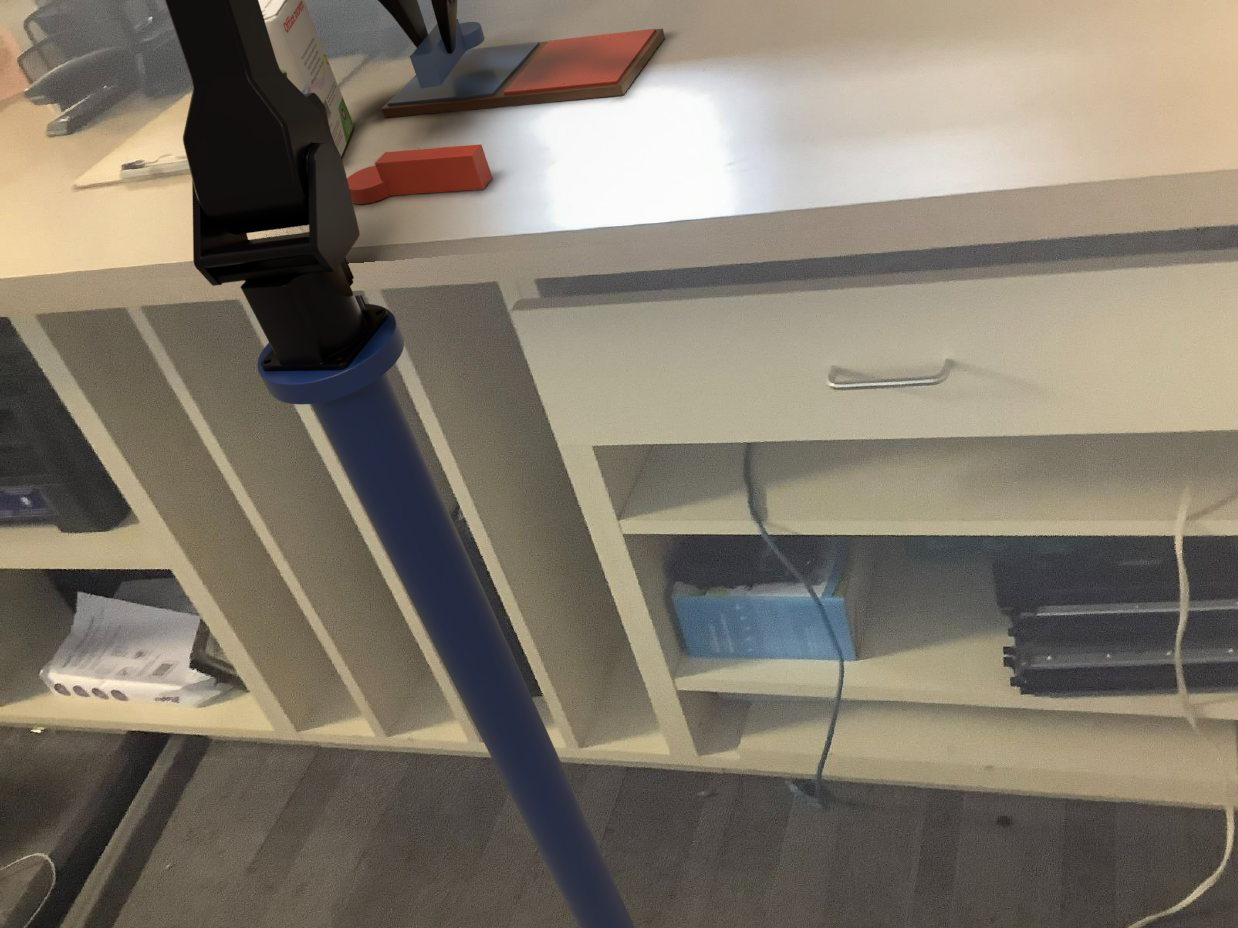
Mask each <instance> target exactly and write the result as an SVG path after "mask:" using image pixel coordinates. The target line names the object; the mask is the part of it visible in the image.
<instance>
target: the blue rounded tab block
mask: <svg viewBox="0 0 1238 928" xmlns="http://www.w3.org/2000/svg"><path fill="white" fill-rule="evenodd" d="M459 21H460V20H459V19H458V18H457V22H456V47H455V51H454V52H453V53H451V54H448V53H447V50H446V48H445V45H444V43H443V41H442V38H441V35H440V32H439V28H438V24H437V23H436V24H435V25H434V27H433V28H432V29H431V31H429V32H428V35H427V37H426V38H425V39H424V40H423V41H422V43H421V44H420V45H419V46H418V47H417V48H415V49H414V51H413V52H412V54H411V55H410V56H409V59H410V61H411V64H412V68H413V71H414V73H415V76H417V79H418V82H419V84H420V87H421V88H427V87H433V86H440V85H441V84H442V83H443V82H444V80H445V79H446V78H447V76H448V75H449V74H450V72H451V71H452V69H453V68H454V67H455V65H456V64H457V63H458V61H459V60H460V59H461V57H462V56H463V54H464V53H465V52H466V50H471V49H475V47H478V46H480V45H481V44H482V43H483V42H484V41H485V38H486V37H485V34H484V31H483V28H482V25H481V23H479V22H477V21H465V22H459Z"/></svg>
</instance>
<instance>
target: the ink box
mask: <svg viewBox="0 0 1238 928" xmlns="http://www.w3.org/2000/svg"><path fill="white" fill-rule="evenodd" d="M258 1H259V4H260V8H261V11H262V14H263V18H264V21H265V24H266V27H267V31H268V34H269V37H270V41H271V44H272V47H273V50H274V54H275V57H276V60H277V63H278V66H279V68H280V70H281V72H282V73H283V74H284V75H285V76H286V77H287V78H288V79H289V80H290V81H291V82H292V83H293V84H294V85H295V86H296V87H297V88H298V89H299V90H300V91H301V92H302V93H303V94H307V93H315V94H317V96H318V97H319V98H320V100H321V101H322V103H323V104H324V105H325V108H326V113H327V117H328V122H329V127H330V131H331V134H332V137H333V140H334V142H335V145H336V147H337V149H338V151H339V153H340V155H341V157H342V156H343V153H344V151H345V149H346V146H347V144H348V141H349V139H350V137H351V134H352V131H353V129H354V126H355V124H354V121H353V119H352V117H351V114H350V111H349V109H348V107H347V103H346V101H345V99H344V96H343V94H342V92H341V89H340V87H339V84H338V82H337V80H336V77H335V74H334V72H333V70H332V67H331V64H330V62H329V59H328V57H327V54H326V51H325V49H324V47H323V44H322V42H321V39H320V37H319V34H318V32H317V29H316V27H315V26H316V25H315V24H314V21H313V19H312V17H311V14H310V12H309V9H308V6H307V5H306V2H305V0H258Z"/></svg>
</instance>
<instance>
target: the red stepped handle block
mask: <svg viewBox="0 0 1238 928" xmlns="http://www.w3.org/2000/svg"><path fill="white" fill-rule="evenodd" d="M492 179H493V175H492V172H491V168H490V165H489V162H488V160H487V157H486V154H485V150H484V147H483V144H481V143H479V144H467V145H455V146H454V145H453V146H444V147H432V148H420V149H419V148H418V149H406V150H393V151H385V152H384V153H383V154H382V155H381V156H380V157H378V159H377V160H376V161H375V162H374V165H372V166H371V165H370V166H367V167H364V168H362V169H360V170H358V171H355V172H354V173H352V174H351V175H349V176H348V177H347V181H348V186H349V190H350V194H351V198H352V202H353V204H355V205H366V204H371V203H376V202H378V201H381V200H384V199H387V198H388V197H391V196H402V195H403V196H404V195H417V194H433V193H446V192H462V191H463V192H464V191H475V190H476V191H477V190H484V189H485V187H487V185H488V184H489V183H490V182H491V180H492Z"/></svg>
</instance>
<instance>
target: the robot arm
mask: <svg viewBox="0 0 1238 928" xmlns="http://www.w3.org/2000/svg"><path fill="white" fill-rule="evenodd" d="M164 2H165V6H166V9H167V11H168V15H169V17H170V21H171V23H172V26H173V29H174V31H175V36H176V38H177V41H178V44H179V48H180V50H181V53H182V56H183V59H184V61H185V64H186V68H187V70H188V74H189V77H190V80H191V84H192V92H191V97H190V102H189V107H188V111H187V115H186V120H185V125H184V130H183V135H182V142H183V148H184V151H185V156H186V159H187V164H188V167H189V172H190V175H191V176H190V177H191V185H192V186H191V189H192V191H191V193H192V246H193V247H192V254H193V255H192V257H193V259H192V260H193V261H192V262H193V265H194V267H195V268H196V270H197V271H199V273H200V274H201V275H202V276H203V277H204V278H205V279H206V281H207V282H208V283H209V284H210V285H211V286H212V287H215V286H222V285H223V284H229V283H236V282H237V283H238V282H244V283H242V284H241V285H240V289H241V291H242V293H243V295H244V296H245V299H246V301H247V303H248V305H249V307H250V309H251V311H252V313H253V314H254V317H255V318H256V321H257V322H258V324H259V326H260V328H261V329H262V332H263V333H264V335H265V338H266V339H267V341H268V343H270V345H271V347H272V350H271V352H270V353H269V354H268V355H267V356H266V357H265V358H264V359H263V360H262V362H261V363H260V365H261V367H262V369H263V370H264V371H335V370H343V369H346V368H347V367H348V366H349V365H350V364H351V363H352V362H353V360H354V359H355V358H356V357H357V355H358V354H359V353H360V352H361V350H362V349H363V348H364V347H365V345H366V344H367V343H368V342H369V340H370V339H371V338H372V337H373V335H374V334H375V333H376V332H377V330H378V329H379V328H380V327H381V325H382V324H383V323H384V322H385V320H386V319H387V318H388V313H387V311H386V309H387V308H386V309H365V305H366V304H367V303H366V302H365V299H364V297H363V295H354V292H353V290H352V288H351V286H352V285H353V284H354V278H355V276H354V274H353V272H352V270H351V267H350V266H349V263H348V261H347V259H346V257H347V255H348V254H349V252H350V251H351V250H352V248H353V247H354V245H355V244H356V242H357V241H358V239H359V238H360V236H361V231H360V228H359V225H358V223H359V222H358V219H357V216H356V215H357V214H356V211H355V207H354V203H353V202H352V198H351V194H350V190H349V186H348V181H347V178H348V177H347V174H346V170H345V166H344V162H343V161H342V156H341V155H340V153H339V151H338V149H337V147H336V145H335V142H334V140H333V137H332V134H331V131H330V127H329V122H328V117H327V113H326V108H325V105H324V104H323V103H322V101H321V100H320V98H319V97H318V96H317V94H315V93H307V94H303V93H302V92H301V91H300V90H299V89H298V88H297V87H296V86H295V85H294V84H293V83H292V82H291V81H290V80H289V79H288V78H287V77H286V76H285V75H284V74H283V73H282V72H281V70H280V68H279V66H278V63H277V60H276V57H275V54H274V50H273V47H272V44H271V41H270V37H269V34H268V31H267V27H266V24H265V21H264V18H263V14H262V11H261V8H260V4H259V1H258V0H164ZM377 2H379V3H380V5H381V6H382V7H384V9H385V10H386V11H387V12H388V13H389V14H390V15H391V16H392V17H393V19H394V20H395V22H396V23H397V25H399V27H400V28H401V29H402V31H403V32H404V33H405V35H406V36H407V37H408V39H409V40H410V41H411V43H412V44H413V45H414V47H415V49H417V47H418V46H419V45H420V44H421V43H422V41H423V40H424V39H425V38H426V37H427V35H428V34H429V32H428V29H427V26H426V23H425V19H424V15H423V13H422V10H421V8H420V5H419V2H418V0H377ZM430 2H431V6H432V10H433V13H434V17H435V21H436V24H438V28H439V32H440V35H441V38H442V41H443V43H444V45H445V48H446V50H447V53H448V54H451V53H453V52H454V51H455V47H456V22H457V19H458V0H430ZM305 226H308V231H307V232H299V233H292V234H291V233H290V234H282V235H278V236H277V235H276V236H275V235H274V236H267V237H260V238H252V239H249V237H248V234H253V233H259V232H266V231H275V230H283V229H289V228H299V227H305Z"/></svg>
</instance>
